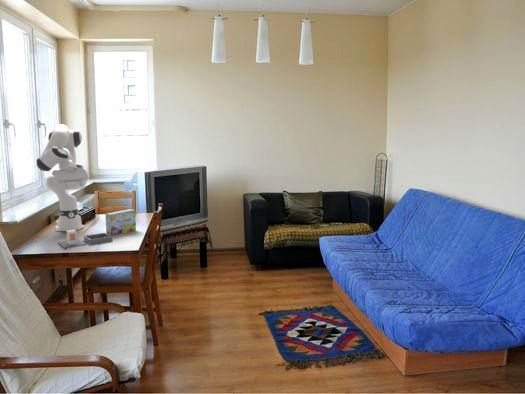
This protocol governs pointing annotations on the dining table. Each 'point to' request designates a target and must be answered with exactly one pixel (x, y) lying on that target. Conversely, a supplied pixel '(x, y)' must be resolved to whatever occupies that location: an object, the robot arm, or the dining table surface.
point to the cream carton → (71, 237)
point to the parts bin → (97, 238)
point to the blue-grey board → (66, 245)
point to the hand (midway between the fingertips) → (73, 186)
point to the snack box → (120, 222)
